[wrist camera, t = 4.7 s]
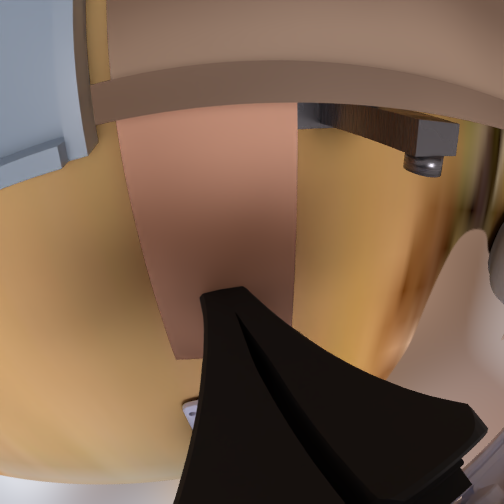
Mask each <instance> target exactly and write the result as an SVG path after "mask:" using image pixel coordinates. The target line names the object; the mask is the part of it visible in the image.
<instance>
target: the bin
mask: <svg viewBox="0 0 504 504" xmlns="http://www.w3.org/2000/svg"><path fill="white" fill-rule="evenodd" d="M97 144H98V137H97V131H96V125H95V120H94V113H93V105H92V98H91V89H90V78H89V68H88V55H87V39H86V0H0V189H2V188H5V187H8V186H11V185H13V184H16V183H19V182H22V181H25V180H27V179H30V178H33V177H36V176H39V175H43V174H46V173H49V172H52V171H55V170H59V169H62V168H63V167H64V166H65V165H66V163H67V162H68V161H71V160H75V159H78V158H82V157H86V156H88V155H89V154H90V153H91V151H92V150H93V149H94V147H95V146H96V145H97Z"/></svg>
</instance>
